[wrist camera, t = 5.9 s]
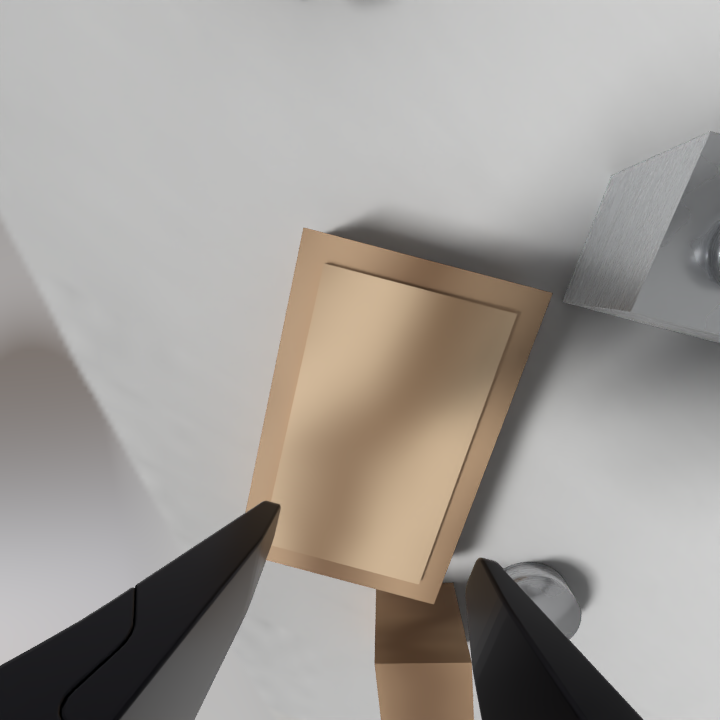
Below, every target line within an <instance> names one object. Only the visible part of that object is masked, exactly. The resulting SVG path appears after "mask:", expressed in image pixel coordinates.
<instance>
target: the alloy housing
mask: <svg viewBox="0 0 720 720" xmlns="http://www.w3.org/2000/svg"><path fill="white" fill-rule="evenodd" d="M562 302H564V303H568V304H571V305H575V306H579V307H583V308H587V309H590V310H594V311H598V312H602V313H606V314H609V315H613V316H617V317H621V318H625V319H629V320H632V321H636V322H640V323H644V324H648V325H651V326H655V327H659V328H663V329H667V330H670V331H674V332H678V333H682V334H686V335H690V336H693V337H697V338H701V339H705V340H709V341H712V342H716V343H720V134H719V133H715V132H711V131H710V132H708V133H706V134H703V135H701V136H699V137H697V138H694V139H692V140H690V141H688V142H685V143H683V144H681V145H679V146H676V147H674V148H672V149H670V150H667V151H665V152H663V153H661V154H658V155H656V156H654V157H652V158H649V159H647V160H645V161H643V162H640V163H638V164H636V165H634V166H632V167H629V168H627V169H625V170H623V171H620V172H618V173H616V174H614V175H612V176H611V178H610V181H609V183H608V186H607V189H606V191H605V194H604V196H603V199H602V201H601V204H600V206H599V209H598V212H597V214H596V217H595V219H594V222H593V224H592V227H591V230H590V232H589V235H588V237H587V240H586V242H585V245H584V247H583V250H582V253H581V255H580V258H579V260H578V263H577V265H576V268H575V270H574V273H573V276H572V278H571V281H570V283H569V286H568V288H567V291H566V294H565V296H564V299H563V301H562Z"/></svg>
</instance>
